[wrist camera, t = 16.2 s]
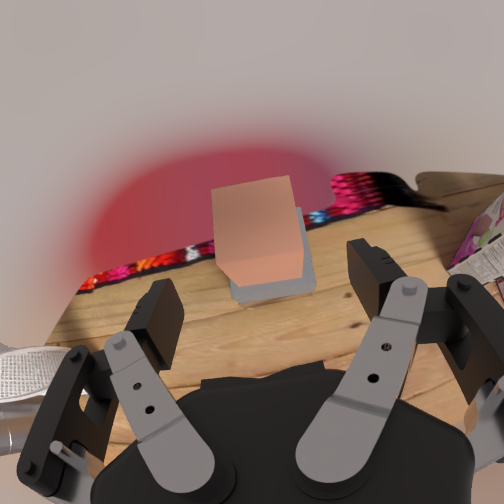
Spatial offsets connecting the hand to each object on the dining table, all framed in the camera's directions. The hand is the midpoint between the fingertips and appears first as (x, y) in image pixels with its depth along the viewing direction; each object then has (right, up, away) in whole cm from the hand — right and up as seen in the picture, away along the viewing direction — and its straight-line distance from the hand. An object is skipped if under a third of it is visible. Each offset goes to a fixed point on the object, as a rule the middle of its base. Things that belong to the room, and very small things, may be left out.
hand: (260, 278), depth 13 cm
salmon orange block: (+1, +1, +15) cm, 15 cm away
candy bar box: (+30, +1, +19) cm, 36 cm away
